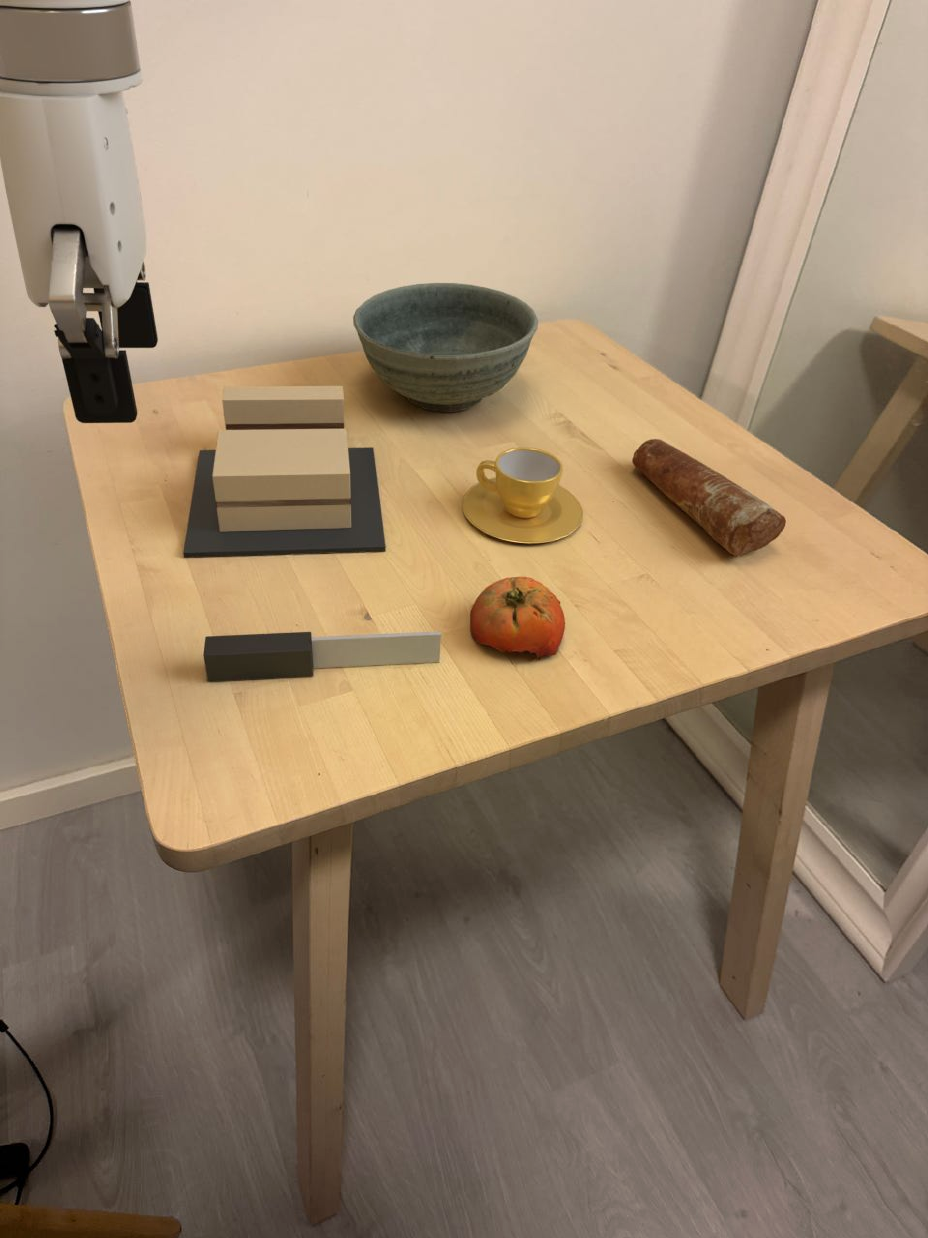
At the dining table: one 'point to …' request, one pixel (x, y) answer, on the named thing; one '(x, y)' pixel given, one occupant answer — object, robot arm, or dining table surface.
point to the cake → (284, 495)
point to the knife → (311, 653)
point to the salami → (710, 498)
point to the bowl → (445, 341)
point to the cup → (522, 498)
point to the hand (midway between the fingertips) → (121, 380)
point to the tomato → (518, 617)
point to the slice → (283, 407)
